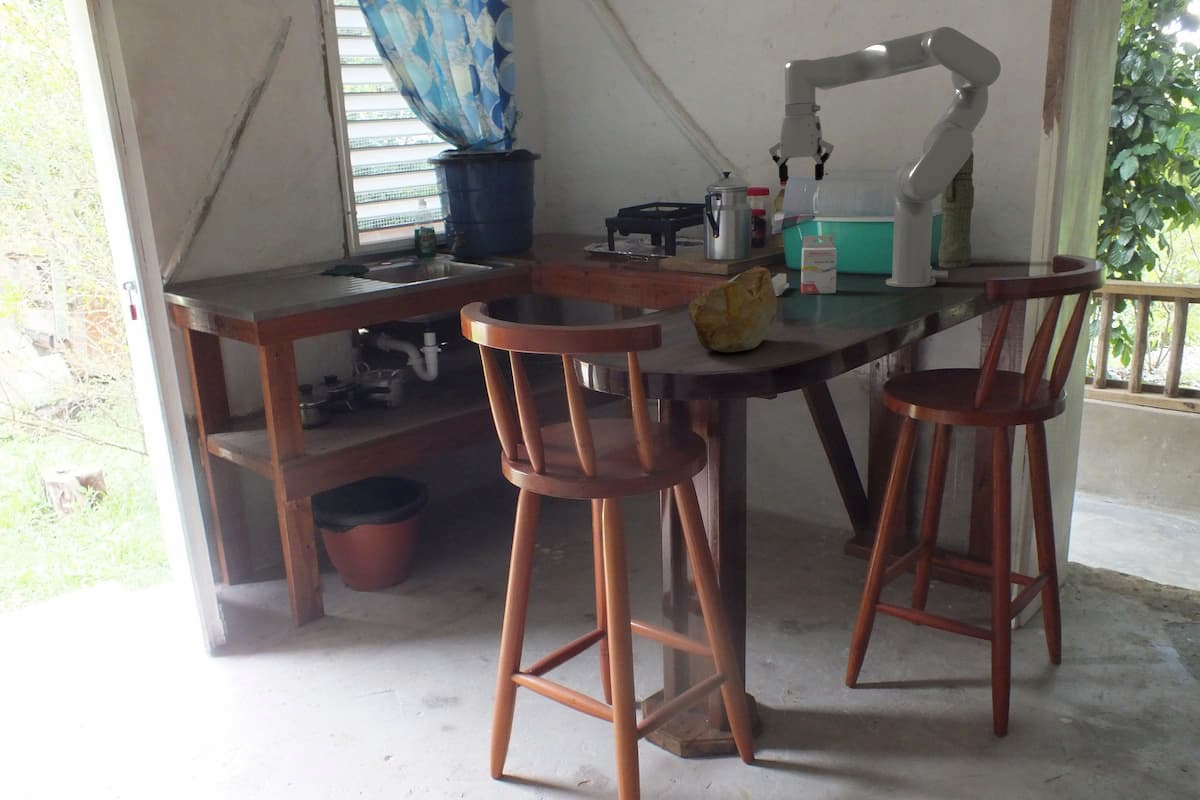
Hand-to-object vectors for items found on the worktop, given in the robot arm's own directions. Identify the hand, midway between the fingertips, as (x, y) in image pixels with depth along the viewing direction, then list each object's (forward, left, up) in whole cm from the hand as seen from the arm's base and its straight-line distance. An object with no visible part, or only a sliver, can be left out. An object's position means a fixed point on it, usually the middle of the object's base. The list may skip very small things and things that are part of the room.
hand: (801, 180), depth 248 cm
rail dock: (+11, +3, -29) cm, 31 cm away
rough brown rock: (+3, +71, -29) cm, 77 cm away
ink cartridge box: (-5, +3, -29) cm, 29 cm away
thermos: (-37, -46, -29) cm, 66 cm away
